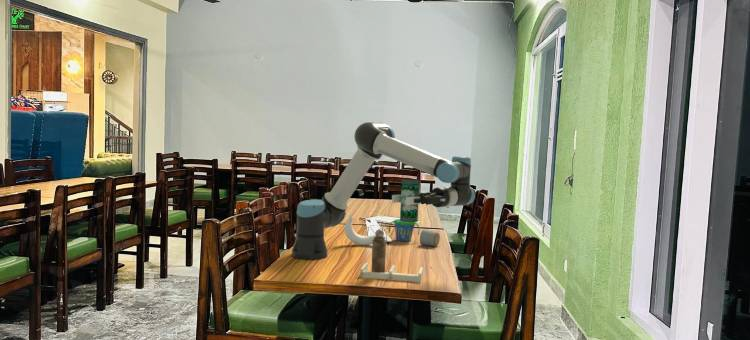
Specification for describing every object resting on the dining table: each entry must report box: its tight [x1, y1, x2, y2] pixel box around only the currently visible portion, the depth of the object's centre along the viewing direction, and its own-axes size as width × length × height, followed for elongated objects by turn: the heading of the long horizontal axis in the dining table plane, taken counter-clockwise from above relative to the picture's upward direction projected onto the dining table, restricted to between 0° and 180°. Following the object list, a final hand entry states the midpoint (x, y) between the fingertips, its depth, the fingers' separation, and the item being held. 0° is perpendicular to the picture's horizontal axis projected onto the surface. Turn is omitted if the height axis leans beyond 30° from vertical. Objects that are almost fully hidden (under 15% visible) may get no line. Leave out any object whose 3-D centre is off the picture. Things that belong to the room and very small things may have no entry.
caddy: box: [359, 262, 424, 283], centre depth 203 cm, size 22×10×4 cm, turn 81°
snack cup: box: [388, 218, 421, 243], centre depth 278 cm, size 16×10×10 cm
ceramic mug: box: [419, 228, 441, 247], centre depth 269 cm, size 11×8×8 cm
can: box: [399, 178, 420, 223], centre depth 201 cm, size 6×6×15 cm
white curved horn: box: [343, 214, 385, 246], centre depth 262 cm, size 5×19×15 cm, turn 93°
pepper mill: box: [370, 229, 387, 273], centre depth 204 cm, size 5×5×17 cm
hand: (399, 200), depth 197 cm, fingers closed on can, 6 cm apart
